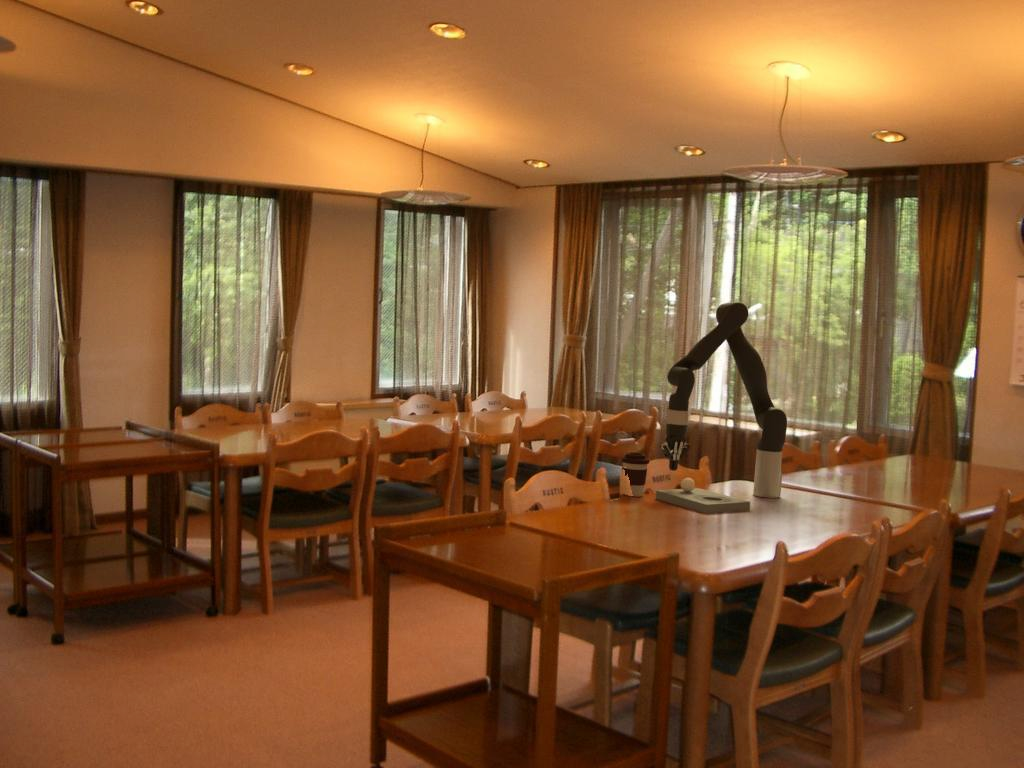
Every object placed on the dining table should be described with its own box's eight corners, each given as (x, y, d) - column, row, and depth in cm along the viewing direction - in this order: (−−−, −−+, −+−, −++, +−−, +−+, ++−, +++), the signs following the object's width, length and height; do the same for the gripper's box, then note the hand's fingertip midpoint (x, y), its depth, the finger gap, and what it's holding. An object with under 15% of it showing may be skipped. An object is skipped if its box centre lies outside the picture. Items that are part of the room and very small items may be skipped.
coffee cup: (646, 493, 378) (649, 452, 377) (647, 498, 368) (650, 456, 367) (618, 491, 379) (621, 450, 378) (618, 496, 369) (621, 454, 368)
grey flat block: (698, 496, 379) (699, 488, 379) (749, 510, 357) (750, 501, 357) (655, 498, 369) (656, 490, 368) (705, 513, 347) (706, 504, 346)
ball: (687, 490, 373) (688, 476, 373) (697, 492, 369) (698, 478, 368) (677, 490, 370) (678, 476, 370) (686, 493, 366) (687, 479, 366)
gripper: (684, 421, 381) (680, 468, 383) (656, 421, 374) (652, 468, 376) (698, 424, 375) (693, 471, 376) (669, 423, 368) (665, 472, 369)
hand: (672, 470), depth 376 cm, fingers closed
